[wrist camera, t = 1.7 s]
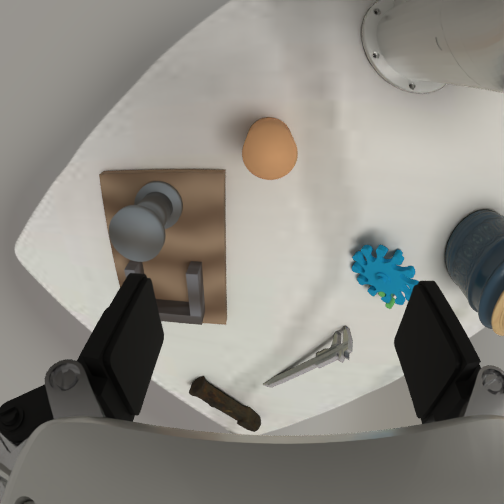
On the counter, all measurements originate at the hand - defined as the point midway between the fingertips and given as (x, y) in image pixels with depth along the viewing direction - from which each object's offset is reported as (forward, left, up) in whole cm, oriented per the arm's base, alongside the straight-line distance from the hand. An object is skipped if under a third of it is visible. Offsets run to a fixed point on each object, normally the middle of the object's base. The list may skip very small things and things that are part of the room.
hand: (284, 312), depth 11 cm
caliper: (+35, +7, -29) cm, 46 cm away
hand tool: (+49, -5, -29) cm, 57 cm away
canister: (+11, +32, -29) cm, 45 cm away
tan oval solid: (-1, -1, -28) cm, 28 cm away
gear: (+15, +16, -29) cm, 36 cm away
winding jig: (+15, -13, -28) cm, 35 cm away
